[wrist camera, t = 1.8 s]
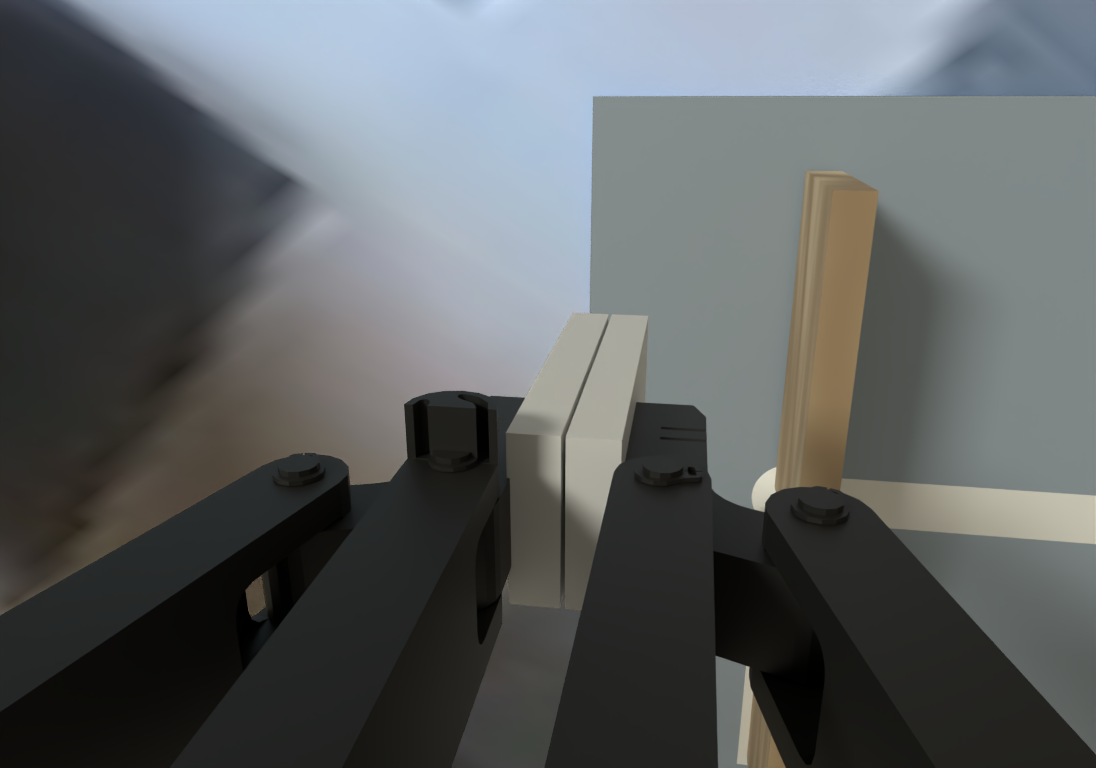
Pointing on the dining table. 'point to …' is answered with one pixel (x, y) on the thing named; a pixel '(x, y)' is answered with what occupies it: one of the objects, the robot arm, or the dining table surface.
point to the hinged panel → (825, 328)
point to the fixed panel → (761, 742)
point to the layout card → (886, 334)
